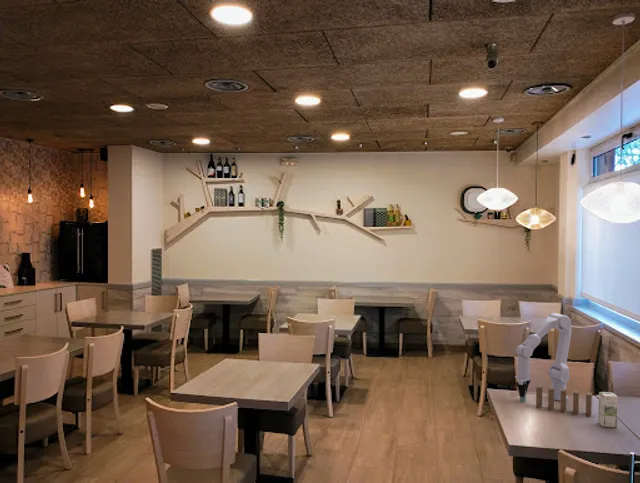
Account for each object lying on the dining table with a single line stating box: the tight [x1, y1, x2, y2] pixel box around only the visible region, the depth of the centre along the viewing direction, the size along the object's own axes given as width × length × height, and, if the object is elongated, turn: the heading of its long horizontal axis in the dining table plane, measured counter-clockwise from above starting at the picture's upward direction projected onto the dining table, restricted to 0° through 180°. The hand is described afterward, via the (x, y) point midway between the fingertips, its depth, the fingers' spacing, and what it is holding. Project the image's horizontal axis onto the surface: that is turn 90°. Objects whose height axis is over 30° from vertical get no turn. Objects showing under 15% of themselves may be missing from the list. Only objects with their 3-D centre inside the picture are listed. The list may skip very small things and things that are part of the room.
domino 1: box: [519, 381, 527, 403], centre depth 276 cm, size 5×2×10 cm, turn 149°
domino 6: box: [585, 392, 593, 418], centre depth 256 cm, size 5×2×10 cm, turn 149°
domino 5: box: [572, 389, 580, 415], centre depth 259 cm, size 5×2×10 cm, turn 149°
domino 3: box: [547, 386, 555, 411], centre depth 264 cm, size 5×2×10 cm, turn 149°
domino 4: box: [559, 388, 567, 413], centre depth 262 cm, size 5×2×10 cm, turn 149°
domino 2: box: [535, 384, 543, 409], centre depth 267 cm, size 5×2×10 cm, turn 149°
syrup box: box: [597, 391, 619, 429], centre depth 242 cm, size 6×6×14 cm
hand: (523, 395), depth 276 cm, fingers closed on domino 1, 5 cm apart
